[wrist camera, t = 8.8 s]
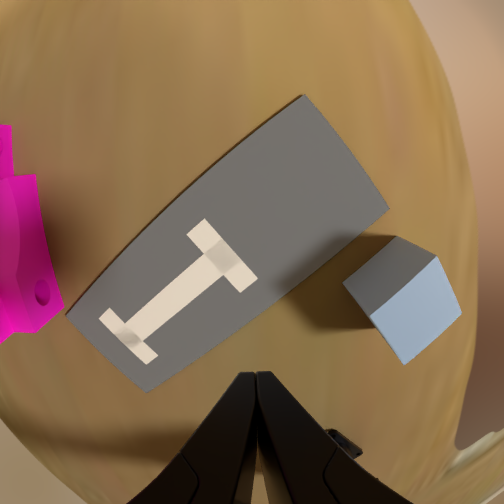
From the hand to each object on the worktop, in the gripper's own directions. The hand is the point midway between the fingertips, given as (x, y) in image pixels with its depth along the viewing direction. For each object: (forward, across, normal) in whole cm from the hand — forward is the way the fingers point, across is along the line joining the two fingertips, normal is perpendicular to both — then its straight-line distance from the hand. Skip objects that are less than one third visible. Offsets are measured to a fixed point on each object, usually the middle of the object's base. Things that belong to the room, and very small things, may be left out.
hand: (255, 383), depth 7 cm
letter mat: (+12, +3, 0) cm, 12 cm away
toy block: (+12, +18, -4) cm, 22 cm away
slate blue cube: (+12, -10, +2) cm, 15 cm away
